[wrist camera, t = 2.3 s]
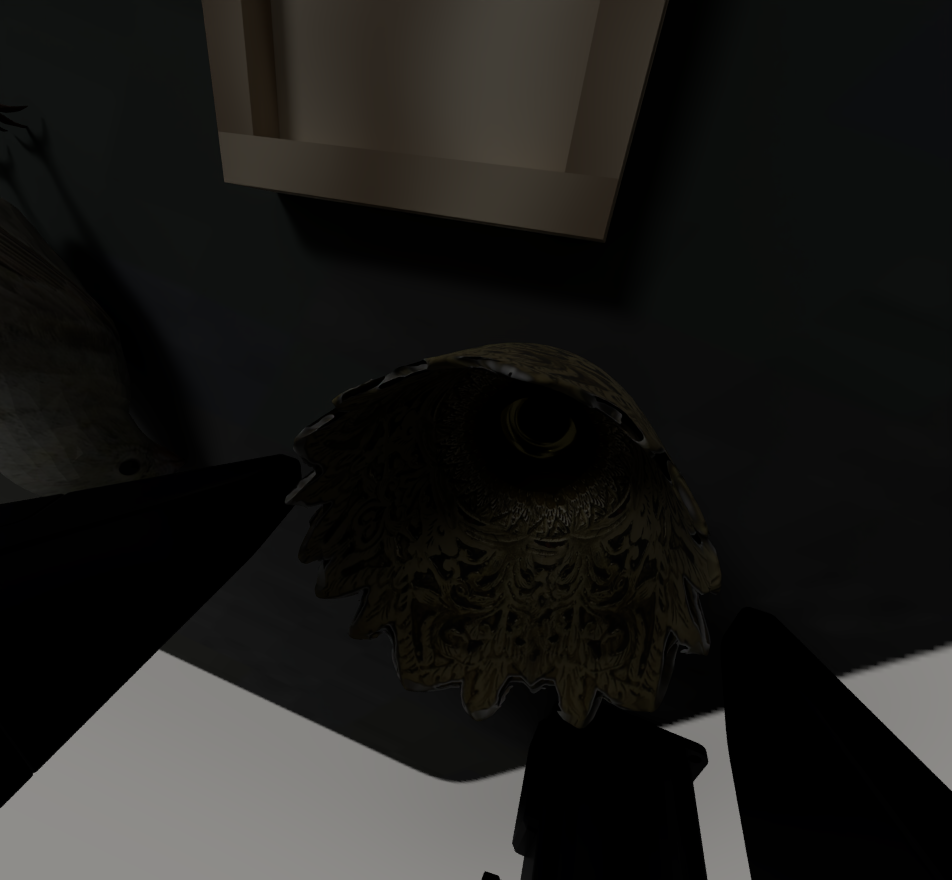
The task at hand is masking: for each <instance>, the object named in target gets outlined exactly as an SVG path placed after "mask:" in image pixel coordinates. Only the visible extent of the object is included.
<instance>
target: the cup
mask: <svg viewBox="0 0 952 880" xmlns="http://www.w3.org/2000/svg"><path fill="white" fill-rule="evenodd" d="M534 397H535V398H542V399H546V400H549V401H552V402H554V403H555V404H557V405H559V406H560V407H561V408H563V409H564V410H565V411H566V414H567V425H566V428H565V430H564V432H563V433H562V434H561V435H560V436H559V437H557V438H555V439H553V440H549V441H540V440H536V439H534V438H532V437H530V436H529V435H528V434H527V433H526V432H525V431H524V430H523V428H522V426H521V424H520V411H521V409H522V407H523V405H524V404H525V403H526V402H527V401H528V400H530V399H532V398H534ZM332 403H333V404H334V405H335V407H336V408H334V409H333V410H332V411H330V412H329V413H327V414H325V415H324V416H322V417H321V418H319V419H318V420H317V421H315V422H313V423H312V424H311V425H309V426H307V427H306V428H305V429H303V430H302V431H301V432H300V433H299V434H298V435H297V437H296V438H295V440H294V448H293V449H294V451H295V452H296V453H297V454H298V455H299V456H300V457H301V458H302V457H304V458H302V459H303V461H304V463H305V464H306V463H307V465H308V466H309V467H313V468H314V470H313V471H312V472H311V473H310V474H308V475H307V476H306V477H304V478H303V479H301V480H300V481H299V482H298V484H297V485H296V487H295V488H293V489H292V490H291V492H290V493H289V494H288V495H287V497H286V499H285V504H286V505H300V506H303V507H305V508H306V507H309V506H310V507H311V506H315V505H319V504H323V506H321V507H320V508H319V509H318V510H317V511H316V513H315V514H314V515H313V516H312V518H311V520H310V521H309V523H310V528H309V530H308V532H307V534H306V536H305V538H304V540H303V542H302V544H301V547H300V550H299V554H298V558H299V560H300V561H301V562H302V563H305V564H307V563H310V562H312V561H315V560H318V561H321V560H324V561H322V564H321V566H320V567H319V569H318V578H317V583H316V586H315V594H316V596H317V597H318V598H322V599H336V598H343V597H348V596H352V595H355V594H358V591H360V590H362V589H363V590H364V593H363V596H362V599H361V603H360V606H359V608H358V610H357V612H356V614H355V616H354V618H353V621H352V623H351V624H350V627H349V632H348V635H349V636H350V637H351V638H354V639H360V640H363V639H370V640H371V639H373V638H377V637H378V636H379V635H380V634H382V633H381V632H376V631H378V630H380V629H381V628H387V630H388V632H389V633H388V632H387V631H386V630H384V631H383V632H384V633H386V634H387V635H388V637H389V638H390V640H391V643H392V645H393V648H392V659H393V663H394V666H395V670H396V673H397V675H398V678H399V680H400V682H401V683H402V685H403V687H404V688H405V689H406V690H408V691H414V692H430V691H436V690H444V689H448V688H451V687H455V688H458V687H460V686H461V690H460V694H461V699H462V705H463V707H464V709H465V711H466V712H467V713H468V715H469V716H470V717H471V718H473V719H474V720H475V721H482V720H485V719H487V718H488V717H491V716H492V715H494V713H495V712H496V710H497V709H498V708H500V707H501V706H500V705H501V704H502V703H503V702H504V700H505V695H506V694H507V693H508V692H509V690H510V688H512V687H513V686H509V687H508V688H507V689H506V687H507V686H508V685H509V683H511V682H522V683H524V684H525V685H526V686H527V687H528V688H529V689H530V692H532V693H536V692H537V691H539V690H540V689H541V688H540V687H542V686H544V685H549V686H555V687H556V690H557V693H558V696H559V707H560V709H561V711H562V712H561V711H557V712H558V713H559V715H560V716H561V717H562V719H563V720H565V721H566V722H568V723H570V724H571V725H573V726H574V727H576V728H579V729H580V728H585V727H586V726H587V725H588V724H589V723H590V722H591V721H592V720H593V718H594V717H595V714H596V712H597V710H598V708H599V706H600V703H601V701H602V698H604V699H606V701H608V702H609V703H611V704H614V705H615V706H617V707H619V708H620V709H624V710H630V711H644V712H650V713H652V712H654V711H655V710H657V709H658V707H659V706H660V704H661V703H662V701H663V698H664V696H665V694H666V691H667V688H668V685H669V682H670V679H671V676H672V673H673V670H674V664H675V663H674V661H675V657H676V653H677V650H678V647H679V644H680V645H683V646H686V647H688V648H689V649H688V650H687V649H684V650H682V651H681V652H680V653H686V654H698V655H705V657H706V656H707V655H708V653H709V649H710V636H709V631H708V628H707V624H706V621H705V618H704V614H703V610H702V607H701V603H700V599H699V594H698V592H699V593H700V594H701V595H704V594H706V593H708V592H711V593H712V594H714V595H717V594H718V593H719V592H720V589H721V571H720V565H719V561H718V557H717V553H716V549H715V548H714V546H713V545H712V543H711V542H710V540H709V539H708V537H707V536H708V535H709V536H710V533H709V531H708V527H707V524H706V521H705V519H704V517H703V515H702V513H701V511H700V508H699V506H698V504H697V502H696V501H695V499H694V497H693V495H692V493H691V491H690V489H689V488H688V486H687V484H686V482H685V480H684V478H683V476H682V475H681V473H680V471H679V470H678V468H677V467H676V465H675V464H674V463H673V462H672V460H671V458H670V456H669V455H668V453H667V451H666V449H665V448H664V446H663V444H662V442H661V441H660V439H659V437H658V436H657V434H656V432H655V431H654V429H653V427H652V426H651V424H650V423H649V421H648V419H647V418H646V416H645V415H644V414H643V412H642V411H641V410H640V408H639V407H638V405H637V404H636V403H635V401H634V400H633V399H632V397H631V396H630V395H629V394H628V393H627V392H626V391H625V390H624V389H623V388H622V386H621V385H620V384H618V383H617V382H616V381H615V380H614V379H613V378H612V377H610V376H609V375H608V374H607V373H606V372H605V371H603V370H602V369H600V368H599V367H597V366H596V365H594V364H593V363H591V362H589V361H587V360H586V359H584V358H582V357H580V356H578V355H576V354H573V353H570V352H568V351H565V350H563V349H559V348H555V347H551V346H547V345H540V344H533V343H501V344H492V345H485V346H481V347H476V348H471V349H467V350H462V351H458V352H453V353H449V354H445V355H441V356H437V357H431V358H426V359H424V360H422V361H420V362H417V363H413V364H410V365H407V366H402V367H399V368H397V369H395V370H394V371H393V372H392V373H390V374H388V375H386V376H383V377H381V378H378V379H374V380H372V379H371V380H369V381H367V382H366V383H364V384H361V385H359V386H357V387H354V388H352V389H349V390H347V391H345V392H343V393H341V394H339V395H338V396H337V397H336V398H334V399H333V400H332ZM305 458H306V459H305ZM307 509H308V508H307ZM359 601H360V600H359ZM390 636H391V637H390ZM505 689H506V690H505ZM542 689H546V688H542ZM504 690H505V692H504ZM503 692H504V694H503V695H502V693H503ZM501 695H502V697H501ZM603 696H605V697H603ZM500 697H501V700H500ZM606 697H607V698H606ZM608 698H609V699H608ZM499 700H500V704H499ZM498 704H499V706H498Z"/></svg>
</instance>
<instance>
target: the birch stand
mask: <svg viewBox="0 0 952 880" xmlns="http://www.w3.org/2000/svg"><path fill="white" fill-rule="evenodd" d="M668 2H669V0H202V6H203V14H204V22H205V30H206V38H207V46H208V54H209V62H210V70H211V78H212V86H213V94H214V102H215V110H216V118H217V126H218V134H219V142H220V150H221V158H222V166H223V174H224V182H227V183H232V184H237V185H242V186H247V187H251V188H256V189H261V190H266V191H271V192H276V193H283V194H289V195H296V196H302V197H309V198H315V199H322V200H328V201H335V202H341V203H348V204H354V205H361V206H367V207H374V208H380V209H387V210H393V211H400V212H406V213H413V214H419V215H426V216H432V217H439V218H445V219H452V220H458V221H465V222H471V223H478V224H484V225H491V226H497V227H504V228H510V229H517V230H523V231H530V232H536V233H543V234H549V235H556V236H562V237H569V238H575V239H582V240H588V241H595V242H601V243H605V241H606V237H607V234H608V230H609V226H610V222H611V218H612V215H613V211H614V207H615V203H616V199H617V196H618V192H619V188H620V184H621V181H622V177H623V173H624V169H625V165H626V162H627V158H628V154H629V150H630V146H631V143H632V139H633V135H634V131H635V127H636V124H637V120H638V116H639V112H640V108H641V105H642V101H643V97H644V93H645V89H646V86H647V82H648V78H649V74H650V71H651V67H652V63H653V59H654V55H655V52H656V48H657V44H658V40H659V36H660V33H661V29H662V25H663V21H664V17H665V14H666V10H667V6H668Z"/></svg>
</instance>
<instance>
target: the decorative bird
mask: <svg viewBox="0 0 952 880" xmlns="http://www.w3.org/2000/svg"><path fill="white" fill-rule="evenodd" d="M26 107H28V106H18V107H15V106H6V105H3V104H0V112H5V113H8V112H16V111H21V110H22V109H24V108H26ZM0 122H2V123H5V124H8V125H13V126H17V127H21V128H27V126H24V125H21V124H18V123H15V122H13V121H12V120H10V119H9V118H7V117H5V116H4V115H2V114H1V113H0ZM0 130H1V131H7V130H5V129H3V128H1V127H0ZM129 406H130V375H129V372H128V368H127V364H126V360H125V357H124V355H123V351H122V346H121V341H120V337H119V334H118V331H117V329H116V327H115V325H114V322H113V320H112V319H111V318H110V317H109V316H108V315H107V313H106V312H105V311H104V310H103V309H102V308H101V307H100V305H99V304H98V303H97V302H96V301H95V300H94V299H93V298H92V297H91V296H90V295H89V294H88V293H87V291H86V290H85V288H84V287H83V285H82V284H81V282H80V281H79V279H78V278H77V277H76V275H75V274H74V273H73V272H72V270H71V269H70V268H69V267H68V265H67V264H66V263H65V262H64V261H63V260H62V259H61V258H60V257H59V256H58V255H57V254H56V253H55V252H54V251H53V250H52V248H51V247H50V246H49V245H48V244H47V243H46V242H45V241H44V239H43V238H42V237H41V236H40V234H39V233H38V231H37V230H36V229H35V228H34V226H33V225H32V224H31V223H30V222H29V221H28V220H27V219H26V217H25V216H24V215H23V214H22V213H21V212H20V211H19V210H18V209H17V208H16V207H14V206H13V205H12V204H10V203H9V202H7V201H6V200H4V199H3V198H1V197H0V472H1V473H2V474H3V475H4V476H5V477H7V478H8V479H10V480H11V481H13V482H14V483H16V484H17V485H19V486H21V487H23V488H25V489H26V490H28V491H30V492H32V493H35V494H38V495H41V496H43V497H45V496H51V495H56V494H64V495H65V494H66V493H68V492H73V491H79V490H84V489H90V488H95V487H101V486H106V485H112V484H118V483H123V482H129V481H134V480H140V479H145V478H151V477H156V476H162V475H167V474H173V473H174V472H176V471H177V470H178V469H180V468H181V467H182V466H183V465H184V463H185V460H184V459H182V458H181V457H179V456H178V455H176V454H175V453H173V452H171V451H170V450H168V449H166V448H165V447H163V446H161V445H159V444H157V443H155V442H154V441H152V440H151V439H149V438H148V437H147V436H146V435H145V434H144V433H143V432H142V431H141V430H140V429H139V428H138V426H137V425H136V423H135V422H134V420H133V418H132V417H131V415H130V414H129Z"/></svg>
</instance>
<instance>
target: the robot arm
mask: <svg viewBox="0 0 952 880" xmlns="http://www.w3.org/2000/svg"><path fill="white" fill-rule="evenodd" d="M301 479H302V478H301V465H300V462H299V461H298V460H297V459H295V458H292V457H289V456H286V455H283V454H278V455H273V456H267V457H262V458H256V459H250V460H245V461H239V462H234V463H228V464H223V465H217V466H212V467H206V468H201V469H195V470H190V471H184V472H178V473H173V474H167V475H162V476H156V477H151V478H145V479H140V480H134V481H129V482H123V483H118V484H112V485H106V486H101V487H95V488H90V489H84V490H79V491H73V492H68V493H66V494H65V495H64V494H56V495H51V496H45V497H40V498H34V499H28V500H22V501H16V502H11V503H5V504H0V808H1V807H2V806H3V805H4V804H5V803H6V802H7V801H8V800H9V799H10V798H11V797H12V796H13V795H14V794H15V793H16V792H17V791H18V790H19V789H20V788H21V787H22V786H23V785H24V784H25V783H26V782H27V781H28V780H29V779H30V778H31V777H32V776H33V773H35V772H37V771H38V770H39V769H40V768H41V767H42V765H44V764H45V763H46V762H47V761H48V760H49V759H50V758H51V757H52V755H54V754H55V753H56V752H57V751H58V750H59V749H60V748H61V747H62V746H63V745H64V744H65V743H66V742H67V741H68V740H69V739H70V738H71V737H72V736H73V735H74V734H75V733H76V731H78V730H79V729H80V728H81V727H82V726H83V725H84V724H85V723H86V722H87V721H88V720H89V719H90V718H91V717H92V716H93V715H94V714H95V713H96V711H98V710H99V709H100V708H101V707H102V706H103V705H104V704H105V703H106V702H107V701H108V700H109V699H110V698H111V696H113V694H115V693H116V692H117V691H118V690H119V689H120V688H121V687H122V686H123V685H124V684H125V683H126V682H127V681H128V680H129V679H130V678H131V677H132V676H133V675H134V674H135V673H136V672H137V671H138V670H139V669H140V668H141V667H142V666H143V665H144V664H145V663H146V662H147V661H148V660H149V659H150V658H151V657H152V656H153V655H154V654H155V653H156V652H157V651H158V650H159V649H160V648H161V647H162V646H163V645H164V644H165V643H166V642H167V641H168V640H169V639H170V638H171V637H172V636H173V635H174V634H175V633H176V632H177V631H178V630H179V629H180V628H181V627H182V626H183V625H184V624H185V623H186V622H187V621H188V620H189V619H190V618H191V617H192V616H193V615H194V614H195V613H196V612H197V611H198V610H199V609H200V608H201V607H202V606H203V605H204V604H205V603H206V602H207V601H208V600H209V599H210V598H211V597H212V596H213V595H214V594H215V593H216V592H217V591H218V590H219V589H220V588H221V587H222V586H223V585H224V584H225V583H226V582H227V581H228V580H229V579H230V578H231V577H232V576H233V575H234V574H235V573H236V572H237V571H238V570H239V569H240V568H241V567H242V566H243V565H244V564H245V563H246V562H247V561H248V560H249V559H250V558H251V557H252V556H253V555H254V553H255V552H256V551H257V550H258V549H259V548H260V547H261V545H262V544H263V543H264V542H265V541H266V539H267V538H268V537H269V536H270V535H271V533H272V532H273V531H274V530H275V529H276V527H277V526H278V525H279V524H280V523H281V521H282V520H283V519H284V518H285V517H286V515H287V514H288V513H289V512H290V510H291V509H292V508H293V507H294V506H295V505H286V504H285V499H286V497H287V495H288V494H289V493H290V492H291V490H292V489H293V488H295V487H296V485H297V484H298V482H299V481H300V480H301ZM720 652H721V666H722V680H723V695H724V709H725V722H726V734H727V743H728V750H729V757H730V763H731V768H732V774H733V779H734V785H735V791H736V796H737V802H738V807H739V813H740V819H741V824H742V830H743V835H744V840H745V847H746V852H747V857H748V863H749V869H750V874H751V880H952V791H951V790H950V789H949V788H948V787H947V786H946V785H945V784H944V783H943V782H942V781H941V780H940V779H939V778H938V777H937V776H936V775H935V774H934V773H933V772H932V771H931V770H930V769H929V768H928V767H927V766H926V765H925V764H924V763H923V762H922V761H920V759H918V757H917V756H916V755H915V754H914V753H913V752H911V750H910V749H908V747H907V746H905V745H904V744H903V743H902V742H901V741H900V740H899V739H898V738H897V737H896V736H895V735H894V734H893V733H892V732H891V731H890V730H889V729H888V728H887V727H886V726H885V725H884V724H883V723H882V722H881V721H880V720H879V719H878V718H877V717H876V716H875V715H874V714H873V713H872V712H871V711H870V710H869V709H868V708H867V707H866V706H865V705H864V704H863V703H862V702H861V701H860V700H859V699H858V698H857V697H856V696H855V695H854V694H853V693H852V692H851V691H850V690H849V689H848V688H847V687H846V686H845V685H844V684H843V683H842V682H841V681H840V680H839V679H838V678H837V677H836V676H835V675H834V674H833V673H832V672H831V671H830V670H829V669H828V668H827V667H826V666H825V665H824V664H823V663H822V662H821V661H820V660H819V659H818V658H817V657H816V656H815V655H814V654H813V653H812V652H811V651H810V650H809V649H808V648H807V647H806V646H804V645H803V644H802V643H801V642H800V641H799V640H798V639H797V638H796V637H795V636H794V635H793V634H792V633H791V632H790V631H789V630H788V629H787V628H786V627H785V626H784V625H783V624H782V623H781V622H780V621H779V620H778V619H777V618H776V617H775V616H773V615H772V614H769V613H767V612H763V611H760V610H757V609H754V608H751V607H745V608H743V609H741V611H740V612H739V613H738V615H737V616H736V618H735V619H734V621H733V622H732V624H731V625H730V627H729V628H728V630H727V632H726V633H725V635H724V636H723V639H722V642H721V648H720ZM557 711H561V709H560V707H559V696H557V699H556V701H555V704H554V706H553V709H552V711H551V714H550V716H549V719H548V720H546V719H543V720H542V721H540V722H539V724H538V726H537V729H536V731H535V734H534V736H533V739H532V741H531V744H530V747H529V751H528V757H527V763H526V768H525V774H524V780H523V786H522V791H521V797H520V802H519V808H518V814H517V819H516V824H515V830H514V836H513V842H512V844H513V847H514V849H515V852H516V853H518V854H520V855H522V856H524V861H523V868H522V874H521V880H707V874H706V867H705V860H704V853H703V846H702V840H701V833H700V826H699V819H698V813H697V806H696V799H695V793H694V787H693V781H694V780H695V779H696V777H697V776H698V775H699V774H700V773H701V771H702V770H703V769H704V768H705V767H706V765H707V764H708V758H707V752H706V749H705V748H704V747H703V746H702V745H700V744H698V743H696V742H694V741H691V740H689V739H686V738H684V737H682V736H679V735H677V734H674V733H671V732H669V731H667V730H664V729H662V728H659V727H657V726H654V725H652V724H649V723H647V722H644V721H642V720H640V719H637V718H635V717H632V716H630V715H627V714H625V713H622V712H620V711H617V710H615V709H612V708H610V707H607V706H605V705H602V704H600V706H599V708H598V710H597V712H596V714H595V717H594V718H593V720H592V721H591V722H590V723H589V724H588V725H587V726H586V727H585V728H580V729H579V728H576V727H574V726H573V725H571V724H570V723H568V722H566V721H565V720H563V719H562V717H561V716H560V715H559V713H558V712H557ZM561 712H562V711H561ZM482 880H500V878H499V876H498V875H495V874H492V873H489V872H486V871H485V872H484V874H483V877H482Z"/></svg>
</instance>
